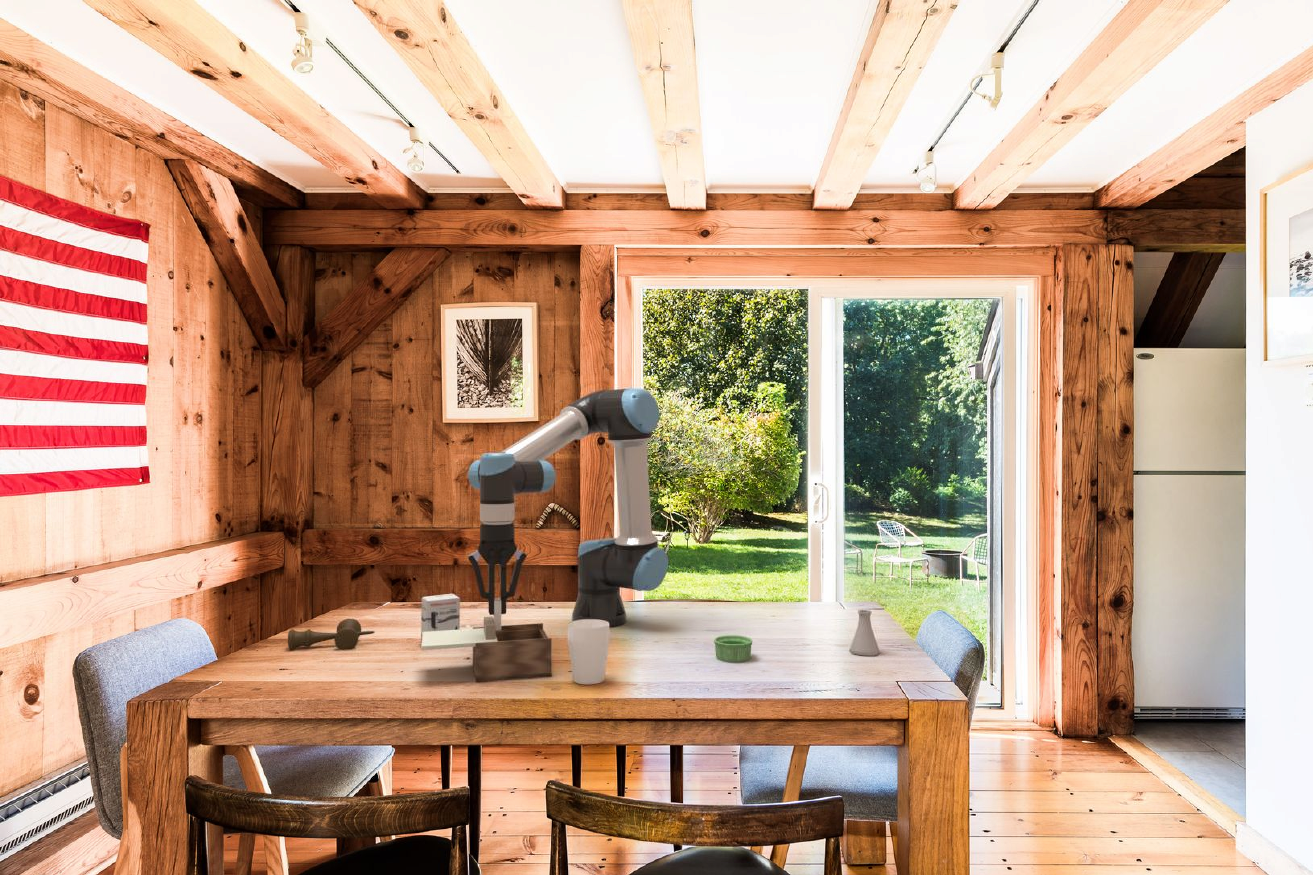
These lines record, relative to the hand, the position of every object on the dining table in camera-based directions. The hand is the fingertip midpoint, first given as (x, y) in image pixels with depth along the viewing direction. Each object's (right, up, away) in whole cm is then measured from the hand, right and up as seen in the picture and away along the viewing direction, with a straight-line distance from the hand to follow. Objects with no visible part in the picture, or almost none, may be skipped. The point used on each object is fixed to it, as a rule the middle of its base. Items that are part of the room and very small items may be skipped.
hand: (497, 629), depth 179 cm
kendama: (-45, -10, +22) cm, 51 cm away
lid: (-8, -2, -2) cm, 8 cm away
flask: (+85, -9, +15) cm, 87 cm away
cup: (+21, -9, -7) cm, 24 cm away
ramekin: (+53, -10, +10) cm, 55 cm away
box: (+3, -9, +1) cm, 10 cm away
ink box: (-19, -10, +24) cm, 32 cm away
